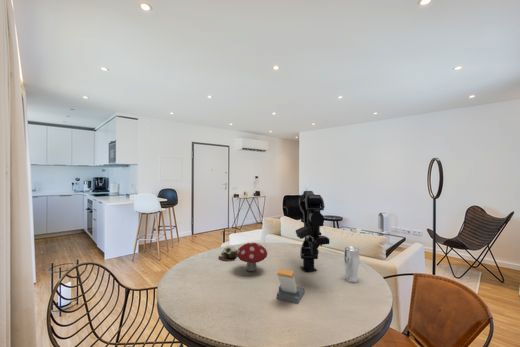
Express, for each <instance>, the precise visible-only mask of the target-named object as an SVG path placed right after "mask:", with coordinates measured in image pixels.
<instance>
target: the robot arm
mask: <svg viewBox="0 0 520 347" xmlns="http://www.w3.org/2000/svg"><path fill="white" fill-rule="evenodd" d="M298 199H299V200H298V205H299V209H300V211H301V213H302V214H303V226H301V227H299V228H297V229H295V234H296V236H297V238H299V239H300V240H302V239H304V240H303V242H302V244H301V247H300V251H299V254H300V255H299V256H300V259H301V260H302V265H301V266H300V269H302V270H303V271H304V272H305V273H308V272H309V273H310V272H317V271H318V270H317V268H315V260H318V258H319V247H320V246H321V245H322V246H324V245H330V243H331V242H330V238H329V237H327V236H326V235H322V232H320V231H321V230H320V229H321V227H322V225H323V224H324V223H325V222H324V221H325V217H324V214H322V213H321V211H324V210H325V207H326V206H325V202H324V199H323V197H322V196H321V194H315V193H314V191H313V190H304V191H303V193H302V194H301V195H300V196H299V198H298Z"/></svg>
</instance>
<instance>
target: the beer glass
mask: <svg viewBox="0 0 520 347" xmlns="http://www.w3.org/2000/svg"><path fill="white" fill-rule="evenodd" d="M343 262H344V269H345V275H344V280H345V281H346V282H348V283H355V284H356V283H358V282H359V277H358V272H359V271H358V270H359V266H360V249H359V248H358V247H356V246H355V247H354V246H345V247H344V252H343Z"/></svg>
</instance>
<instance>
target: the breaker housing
mask: <svg viewBox="0 0 520 347" xmlns="http://www.w3.org/2000/svg"><path fill="white" fill-rule="evenodd" d="M296 287H297V294H294V293H290V292H286V291H282V288H281V284H280V285H279V286H278V291H277V293H276V300H280V299H281V300H280V301H284V302H288V303H293V304H297V305H299V303H300V301H301V300H302V298H303V296H304V295H305V289H306V288H305V287H303V286H298V285H296Z"/></svg>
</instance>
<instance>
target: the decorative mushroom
mask: <svg viewBox="0 0 520 347" xmlns="http://www.w3.org/2000/svg"><path fill="white" fill-rule="evenodd" d="M237 256H238V257H237V258H238V259H239V260H240V261H242V262H244V263H246V270H247V271H248V272H255V271H256V270H257V263H260V262H262V261H264V260H265V259H266V258H267V256H268V251H267V249H266V248H265V247H264V246H263V245H261V244H260V243H258V242H247V243H244V244H243V245H241V246H240V247H239V248H238V249H237Z"/></svg>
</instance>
